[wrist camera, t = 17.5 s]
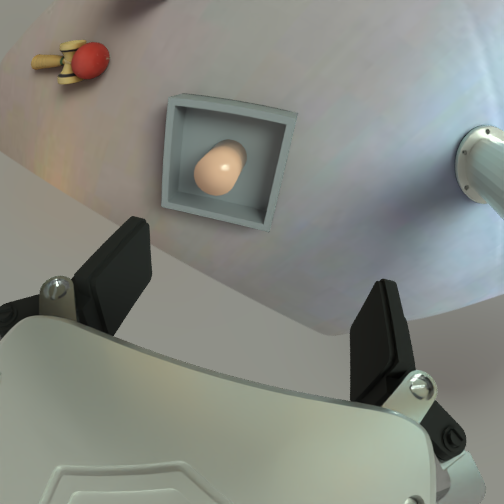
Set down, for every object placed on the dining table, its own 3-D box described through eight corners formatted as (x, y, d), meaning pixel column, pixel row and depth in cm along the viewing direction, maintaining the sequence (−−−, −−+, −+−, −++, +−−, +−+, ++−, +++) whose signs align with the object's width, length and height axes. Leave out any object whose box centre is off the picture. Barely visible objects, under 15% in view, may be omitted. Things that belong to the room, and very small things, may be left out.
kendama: (46, 83, 38) (109, 87, 36) (20, 83, 32) (80, 85, 30) (56, 45, 35) (122, 41, 33) (30, 42, 29) (95, 33, 27)
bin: (297, 113, 36) (296, 118, 32) (273, 215, 45) (269, 232, 41) (183, 93, 37) (168, 97, 33) (174, 192, 46) (161, 206, 42)
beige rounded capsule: (251, 145, 39) (240, 162, 32) (241, 177, 42) (230, 200, 35) (215, 135, 39) (198, 150, 32) (208, 167, 41) (190, 189, 35)
